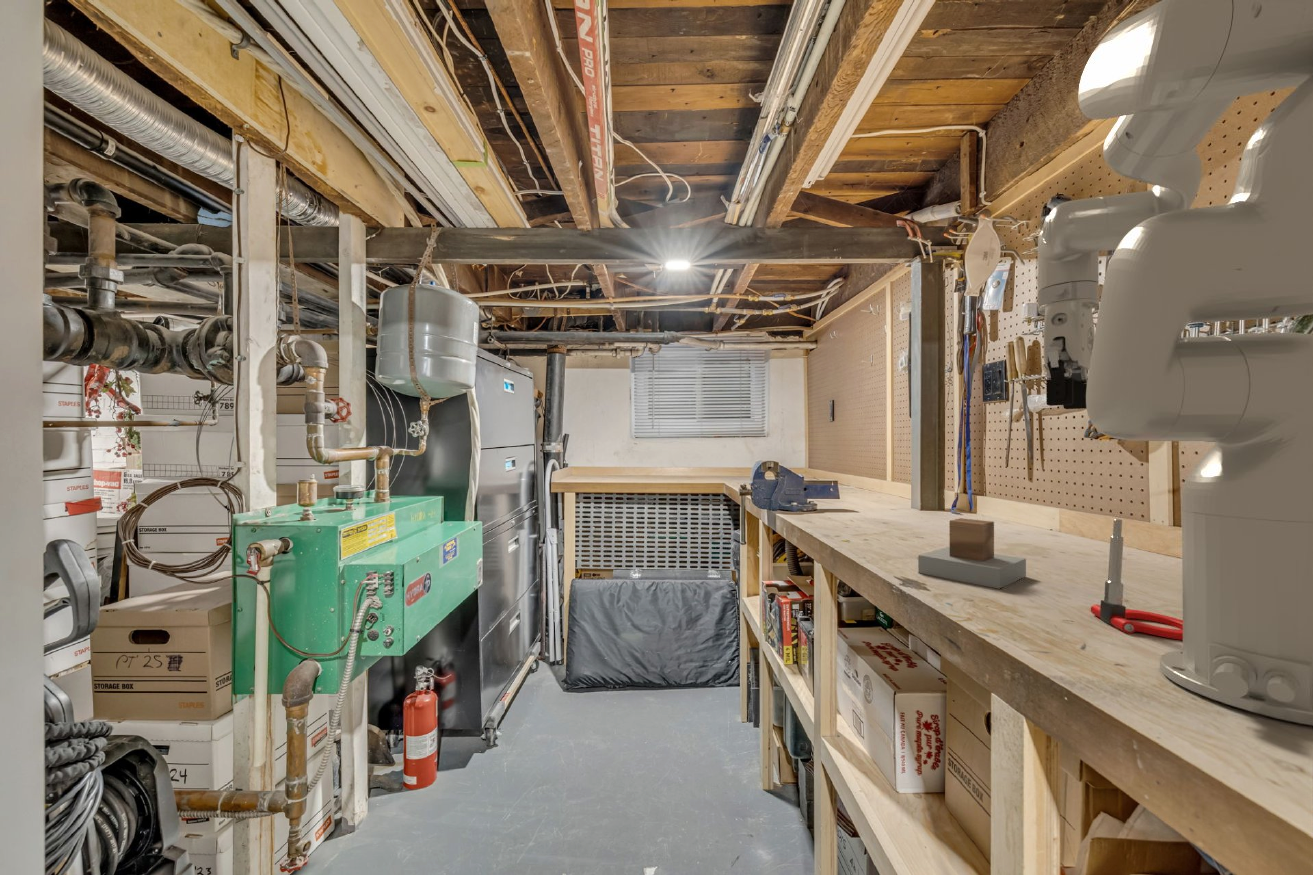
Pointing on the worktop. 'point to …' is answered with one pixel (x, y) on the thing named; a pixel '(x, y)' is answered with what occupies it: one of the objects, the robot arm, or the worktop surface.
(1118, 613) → the red and grey piece
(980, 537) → the walnut block
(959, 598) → the worktop surface
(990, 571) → the base slab
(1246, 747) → the worktop surface
